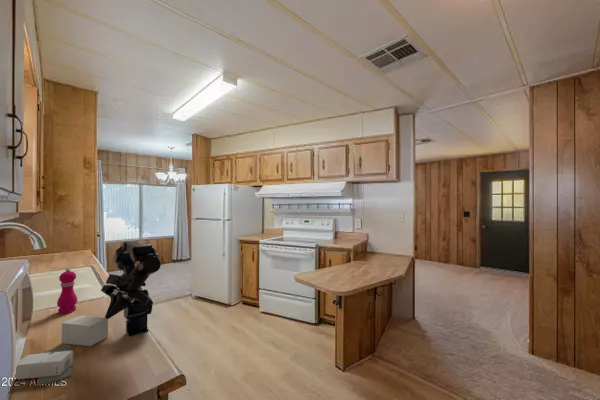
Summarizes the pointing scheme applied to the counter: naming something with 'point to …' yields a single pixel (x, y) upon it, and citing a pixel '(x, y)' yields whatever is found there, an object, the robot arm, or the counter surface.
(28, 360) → the skincare box
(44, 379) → the rubber mat
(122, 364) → the counter surface
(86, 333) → the supplement box
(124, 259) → the robot arm
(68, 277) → the pepper mill
